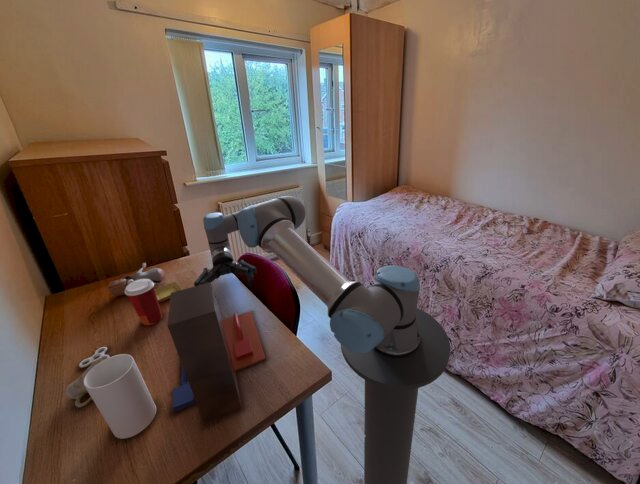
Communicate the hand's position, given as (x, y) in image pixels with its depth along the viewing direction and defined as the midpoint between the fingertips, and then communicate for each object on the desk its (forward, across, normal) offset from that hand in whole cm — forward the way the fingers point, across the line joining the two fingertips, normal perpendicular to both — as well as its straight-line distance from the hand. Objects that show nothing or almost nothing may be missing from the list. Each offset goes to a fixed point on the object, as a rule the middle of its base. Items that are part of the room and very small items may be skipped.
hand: (229, 289), depth 93 cm
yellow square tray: (-23, +21, -10) cm, 32 cm away
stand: (+31, +7, -9) cm, 33 cm away
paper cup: (-10, +25, -10) cm, 29 cm away
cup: (+27, +25, -10) cm, 38 cm away
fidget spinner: (+1, +37, -10) cm, 38 cm away
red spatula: (+12, 0, -9) cm, 15 cm away
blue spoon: (+20, +15, -9) cm, 27 cm away
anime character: (-34, +31, -10) cm, 47 cm away
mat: (+14, +1, -9) cm, 17 cm away
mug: (+13, +35, -10) cm, 39 cm away
